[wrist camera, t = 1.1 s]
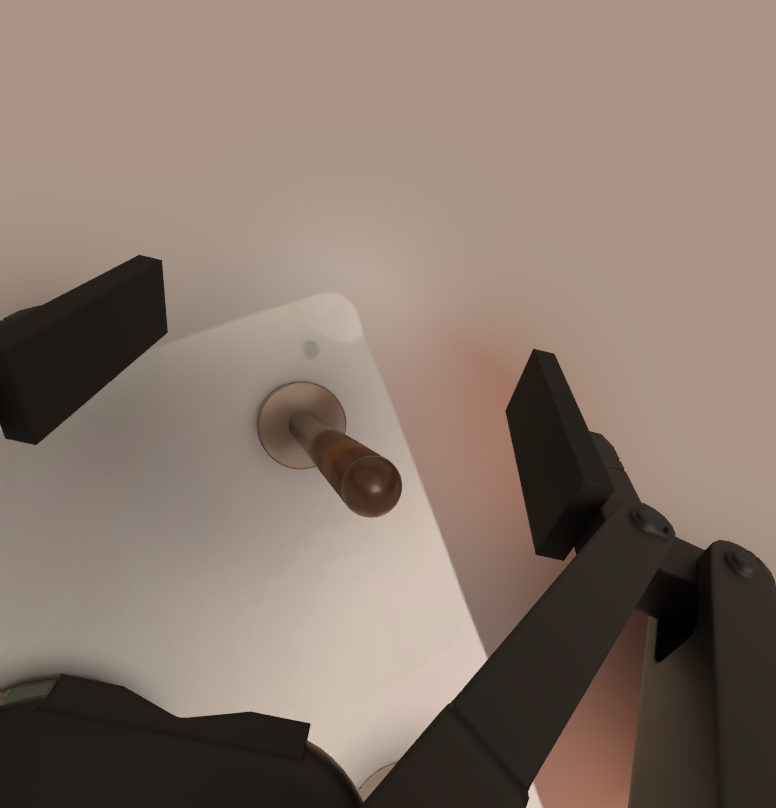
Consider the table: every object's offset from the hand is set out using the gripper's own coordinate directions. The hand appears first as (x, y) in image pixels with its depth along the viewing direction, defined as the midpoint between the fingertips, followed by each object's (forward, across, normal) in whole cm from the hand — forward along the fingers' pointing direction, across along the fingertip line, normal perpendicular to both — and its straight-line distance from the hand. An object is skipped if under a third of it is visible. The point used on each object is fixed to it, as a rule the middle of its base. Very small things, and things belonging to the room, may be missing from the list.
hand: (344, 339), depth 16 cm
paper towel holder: (+10, -3, -12) cm, 16 cm away
